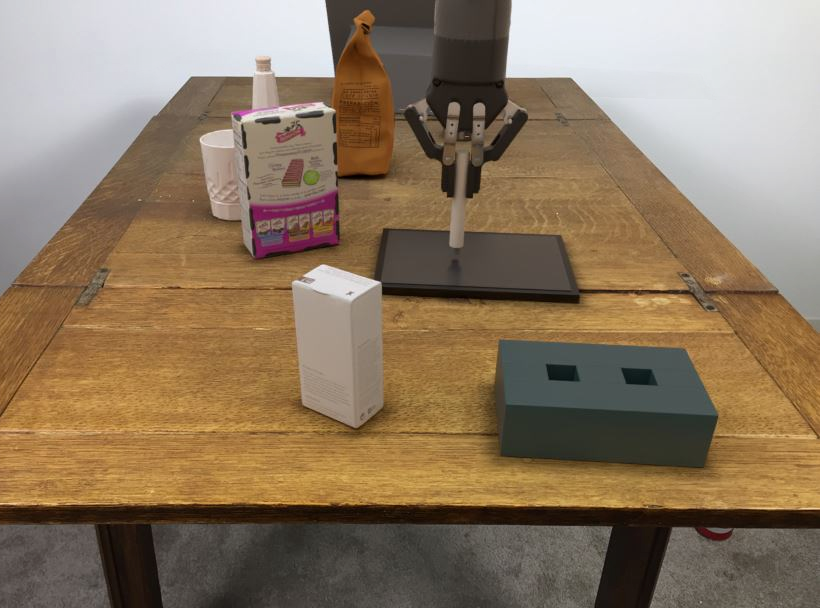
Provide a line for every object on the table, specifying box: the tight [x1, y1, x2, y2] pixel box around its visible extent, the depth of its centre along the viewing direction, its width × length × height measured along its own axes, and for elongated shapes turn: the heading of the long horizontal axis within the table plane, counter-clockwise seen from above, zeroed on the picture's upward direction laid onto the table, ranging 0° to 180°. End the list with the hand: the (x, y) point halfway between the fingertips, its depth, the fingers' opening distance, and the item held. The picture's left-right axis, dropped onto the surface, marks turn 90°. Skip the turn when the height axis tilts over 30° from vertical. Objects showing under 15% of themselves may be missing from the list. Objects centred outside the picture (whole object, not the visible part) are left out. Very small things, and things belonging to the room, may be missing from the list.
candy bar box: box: [230, 101, 341, 260], centre depth 92 cm, size 11×5×16 cm, turn 114°
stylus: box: [449, 148, 471, 255], centre depth 87 cm, size 2×2×12 cm
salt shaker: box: [251, 55, 281, 110], centre depth 141 cm, size 5×5×11 cm
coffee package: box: [330, 10, 396, 178], centre depth 116 cm, size 10×12×22 cm
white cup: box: [199, 128, 242, 221], centre depth 103 cm, size 8×8×10 cm
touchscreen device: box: [324, 0, 508, 117], centre depth 148 cm, size 35×20×30 cm, turn 77°
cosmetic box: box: [291, 263, 385, 429], centre depth 64 cm, size 6×4×12 cm
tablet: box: [373, 227, 581, 304], centre depth 91 cm, size 16×22×1 cm
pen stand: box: [493, 338, 720, 468], centre depth 64 cm, size 10×16×5 cm, turn 85°
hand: (459, 195), depth 87 cm, fingers closed on stylus, 1 cm apart
